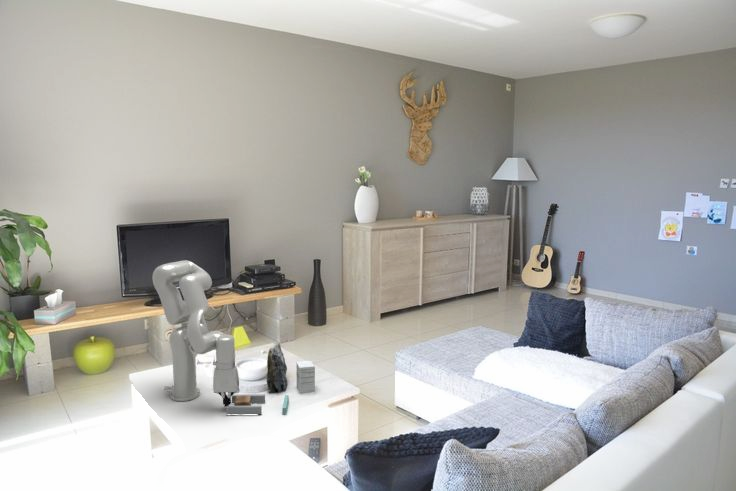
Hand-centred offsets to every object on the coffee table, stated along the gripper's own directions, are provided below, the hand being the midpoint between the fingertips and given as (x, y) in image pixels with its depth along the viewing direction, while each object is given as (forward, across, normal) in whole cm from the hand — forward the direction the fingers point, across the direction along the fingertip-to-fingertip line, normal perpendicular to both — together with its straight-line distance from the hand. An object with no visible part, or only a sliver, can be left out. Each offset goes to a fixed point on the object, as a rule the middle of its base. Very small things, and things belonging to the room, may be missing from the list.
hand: (227, 405), depth 219 cm
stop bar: (+2, +25, 0) cm, 25 cm away
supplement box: (+2, +32, +18) cm, 37 cm away
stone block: (+2, +19, +23) cm, 30 cm away
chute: (+1, +8, 0) cm, 8 cm away
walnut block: (+2, +7, 0) cm, 7 cm away
